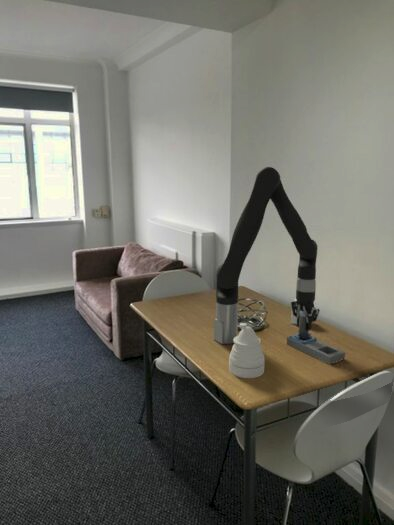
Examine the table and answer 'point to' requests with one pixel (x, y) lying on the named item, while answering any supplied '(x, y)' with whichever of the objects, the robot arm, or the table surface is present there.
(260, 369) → the honey pot
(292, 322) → the medicine bottle
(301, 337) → the plug
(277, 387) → the table surface
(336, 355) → the gray socket base
